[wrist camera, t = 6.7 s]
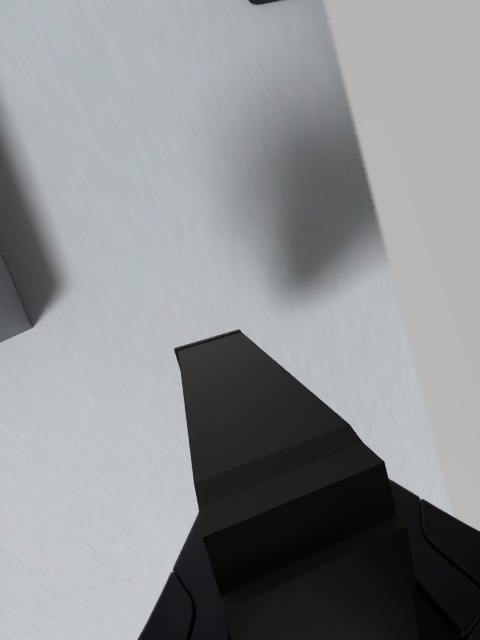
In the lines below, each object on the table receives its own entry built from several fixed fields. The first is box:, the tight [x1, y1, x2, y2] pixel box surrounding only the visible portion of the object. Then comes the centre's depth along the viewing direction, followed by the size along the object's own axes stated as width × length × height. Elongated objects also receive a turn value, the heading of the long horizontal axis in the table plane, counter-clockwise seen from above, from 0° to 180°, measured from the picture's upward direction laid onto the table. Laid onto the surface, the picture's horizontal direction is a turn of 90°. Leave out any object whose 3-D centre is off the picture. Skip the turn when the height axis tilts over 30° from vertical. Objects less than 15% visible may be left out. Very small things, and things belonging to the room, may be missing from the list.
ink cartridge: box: [174, 329, 419, 640], centre depth 7 cm, size 5×2×8 cm, turn 13°
